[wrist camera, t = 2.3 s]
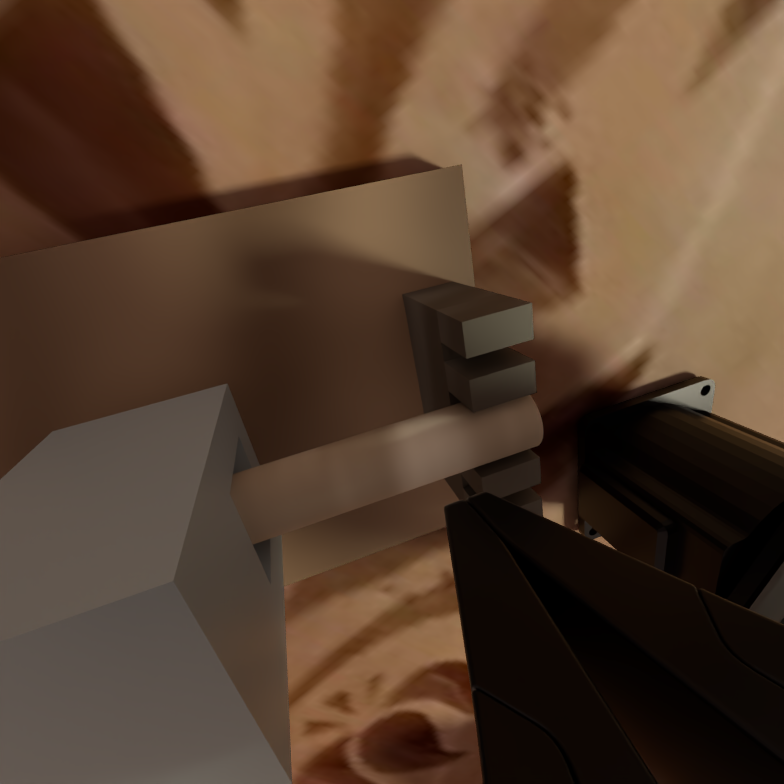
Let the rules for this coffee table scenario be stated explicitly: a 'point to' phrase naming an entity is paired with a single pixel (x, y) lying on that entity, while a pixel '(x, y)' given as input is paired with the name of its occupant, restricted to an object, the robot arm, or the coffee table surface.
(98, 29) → the coffee table surface
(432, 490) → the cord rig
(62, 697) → the sleeve
